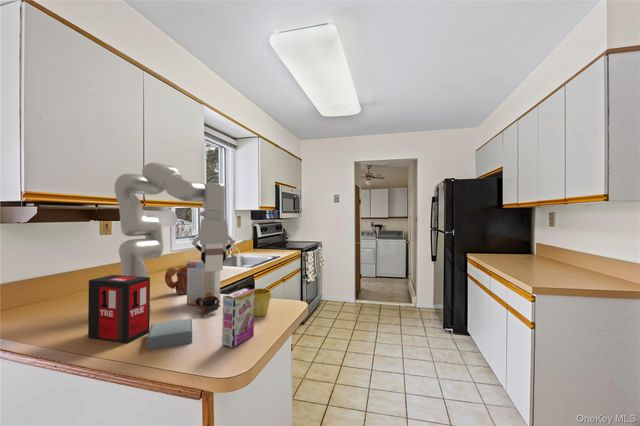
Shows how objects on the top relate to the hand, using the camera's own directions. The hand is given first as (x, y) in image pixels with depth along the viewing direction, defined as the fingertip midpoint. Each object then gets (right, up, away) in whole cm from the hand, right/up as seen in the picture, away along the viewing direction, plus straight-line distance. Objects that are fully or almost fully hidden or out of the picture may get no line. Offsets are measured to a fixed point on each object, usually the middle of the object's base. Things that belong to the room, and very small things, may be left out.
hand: (213, 261), depth 108 cm
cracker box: (-15, -25, +27) cm, 40 cm away
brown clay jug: (-9, -25, +16) cm, 31 cm away
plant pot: (+14, -25, +14) cm, 32 cm away
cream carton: (0, -3, 0) cm, 3 cm away
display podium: (-11, -25, -11) cm, 29 cm away
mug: (-34, -25, +42) cm, 60 cm away
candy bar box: (+13, -25, -12) cm, 31 cm away
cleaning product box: (-30, -25, -8) cm, 40 cm away
